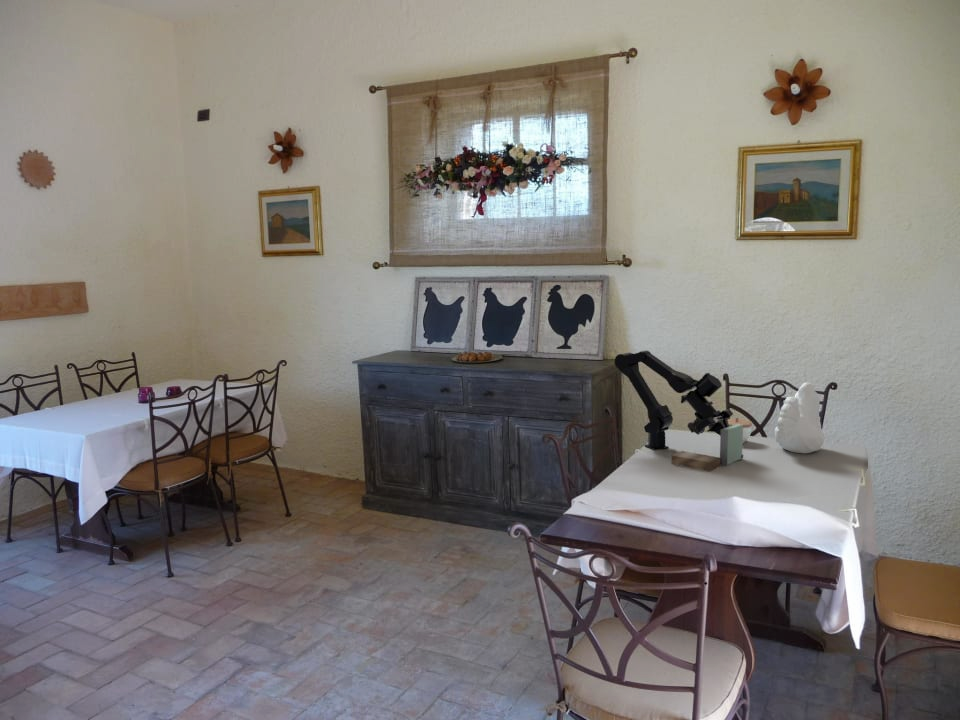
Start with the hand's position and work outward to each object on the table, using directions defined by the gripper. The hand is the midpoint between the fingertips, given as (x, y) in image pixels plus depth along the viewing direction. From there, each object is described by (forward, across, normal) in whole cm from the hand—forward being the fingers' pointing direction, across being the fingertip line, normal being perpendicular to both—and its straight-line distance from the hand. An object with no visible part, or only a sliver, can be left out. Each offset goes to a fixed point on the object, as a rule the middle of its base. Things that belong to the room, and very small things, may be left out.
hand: (730, 440), depth 246 cm
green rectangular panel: (+6, +2, -4) cm, 7 cm away
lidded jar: (-1, -26, -12) cm, 29 cm away
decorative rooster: (+14, -25, +3) cm, 29 cm away
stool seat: (0, +12, -10) cm, 16 cm away
